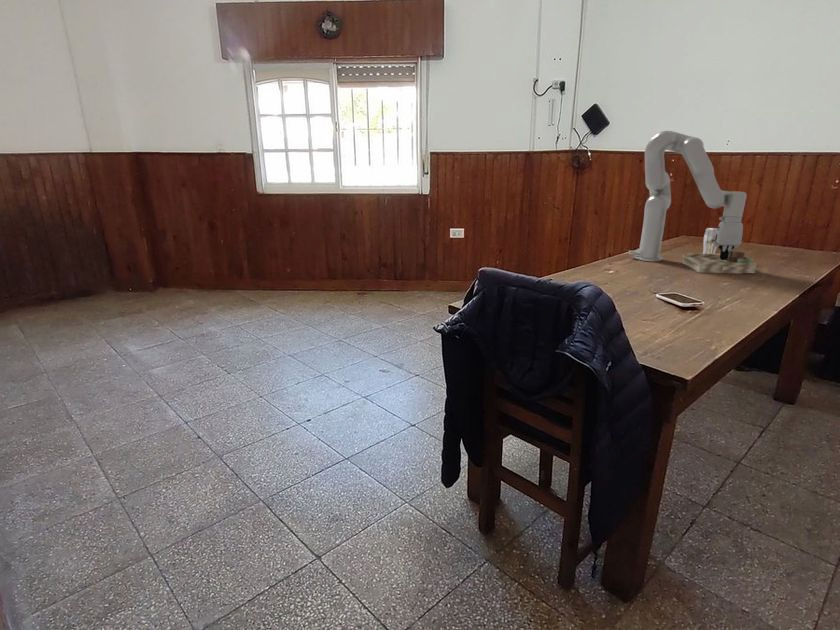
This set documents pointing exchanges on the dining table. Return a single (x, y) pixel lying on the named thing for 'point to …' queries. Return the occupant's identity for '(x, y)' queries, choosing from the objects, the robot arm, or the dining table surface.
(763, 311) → the dining table surface
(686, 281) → the dining table surface
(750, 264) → the tray
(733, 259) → the walnut block
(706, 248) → the beer glass
